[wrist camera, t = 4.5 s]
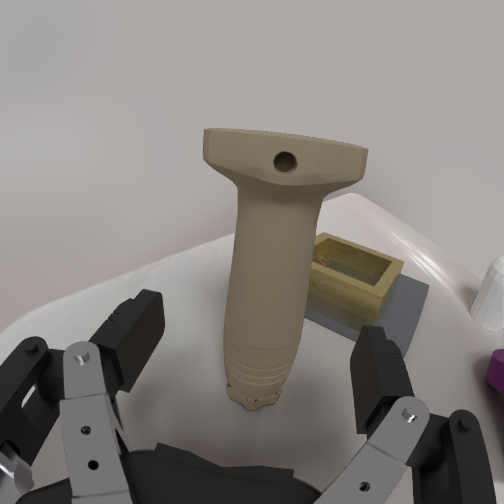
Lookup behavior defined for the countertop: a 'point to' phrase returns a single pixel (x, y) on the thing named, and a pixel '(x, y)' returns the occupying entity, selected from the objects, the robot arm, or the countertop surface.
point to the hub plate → (362, 291)
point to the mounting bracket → (496, 370)
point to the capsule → (491, 298)
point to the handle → (273, 246)
